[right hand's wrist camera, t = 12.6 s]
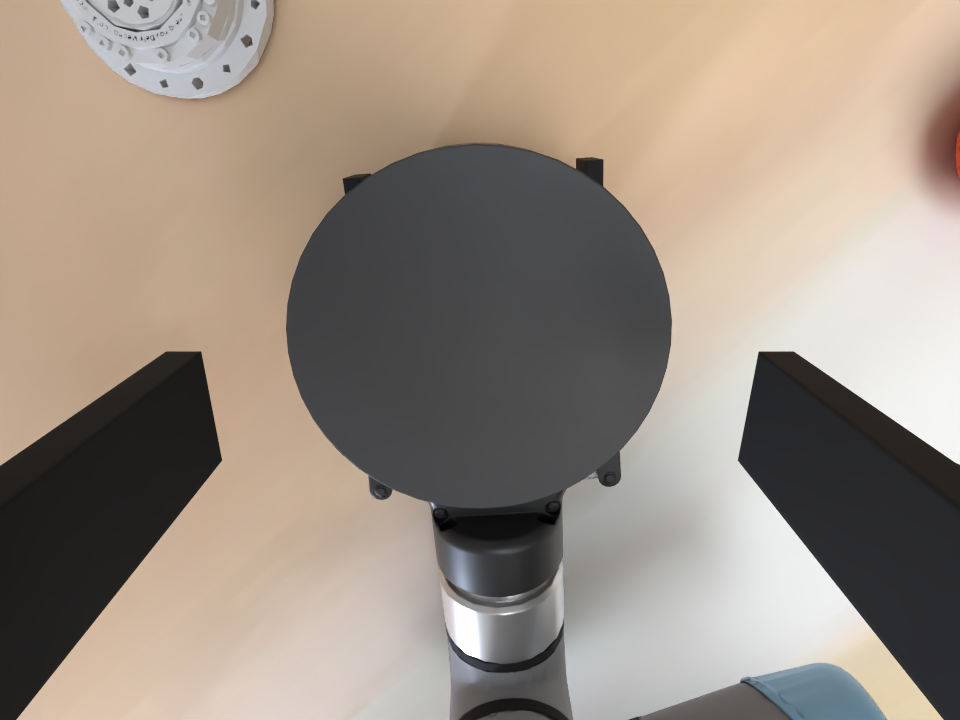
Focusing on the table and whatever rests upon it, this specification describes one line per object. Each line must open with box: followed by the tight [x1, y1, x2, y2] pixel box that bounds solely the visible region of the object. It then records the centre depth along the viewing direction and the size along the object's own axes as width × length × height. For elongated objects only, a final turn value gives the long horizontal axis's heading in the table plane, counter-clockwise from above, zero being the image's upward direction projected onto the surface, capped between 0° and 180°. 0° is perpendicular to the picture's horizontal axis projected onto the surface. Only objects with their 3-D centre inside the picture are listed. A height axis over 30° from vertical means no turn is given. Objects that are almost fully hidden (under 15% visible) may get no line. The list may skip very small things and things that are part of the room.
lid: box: [286, 143, 672, 508], centre depth 17 cm, size 11×11×2 cm
